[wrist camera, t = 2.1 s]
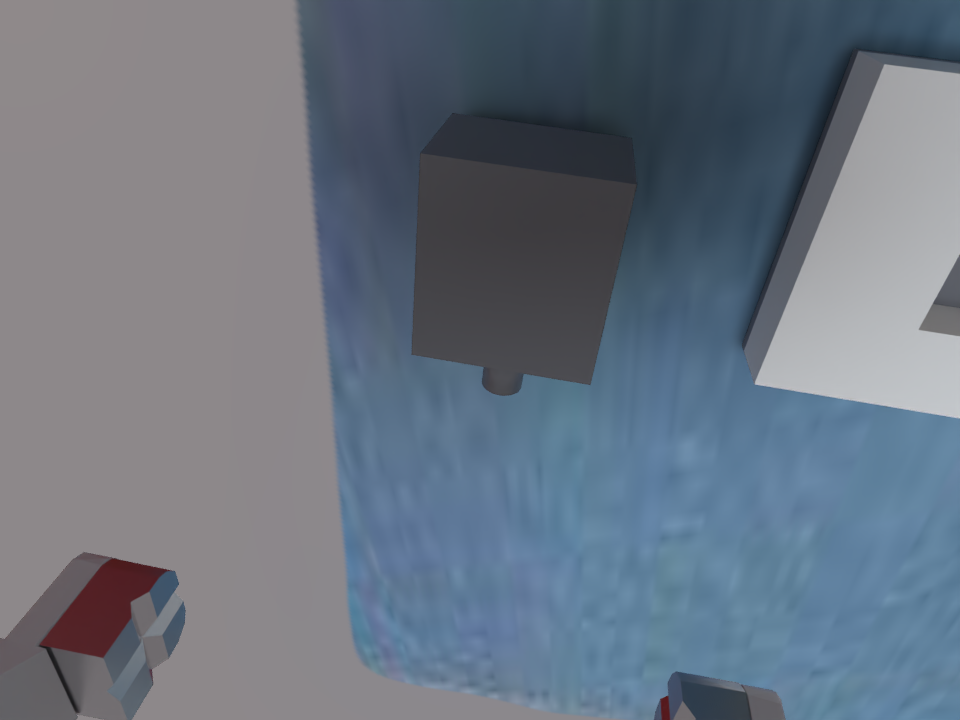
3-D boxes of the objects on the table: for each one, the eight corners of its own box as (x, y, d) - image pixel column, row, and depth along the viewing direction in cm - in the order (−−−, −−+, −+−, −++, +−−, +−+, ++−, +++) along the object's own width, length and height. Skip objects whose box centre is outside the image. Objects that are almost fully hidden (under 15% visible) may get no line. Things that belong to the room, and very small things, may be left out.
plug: (463, 100, 25) (420, 153, 20) (630, 123, 25) (636, 184, 19) (446, 316, 31) (409, 407, 25) (583, 338, 30) (578, 436, 24)
